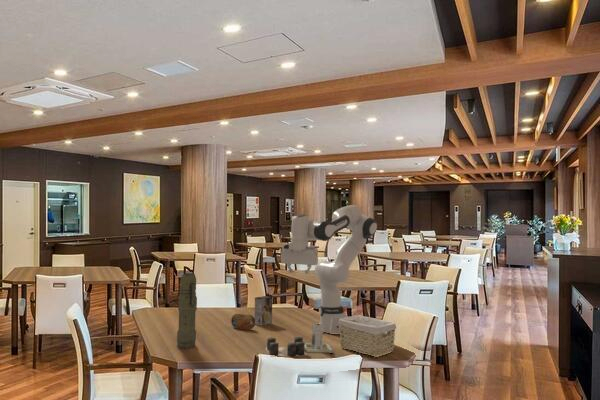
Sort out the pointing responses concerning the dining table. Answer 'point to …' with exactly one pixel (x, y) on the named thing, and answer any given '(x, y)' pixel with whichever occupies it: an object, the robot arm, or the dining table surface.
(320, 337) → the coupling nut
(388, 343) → the storage basket
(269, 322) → the coffee box
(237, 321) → the tin
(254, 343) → the dining table surface
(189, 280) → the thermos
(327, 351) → the tray
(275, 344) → the spacer board
